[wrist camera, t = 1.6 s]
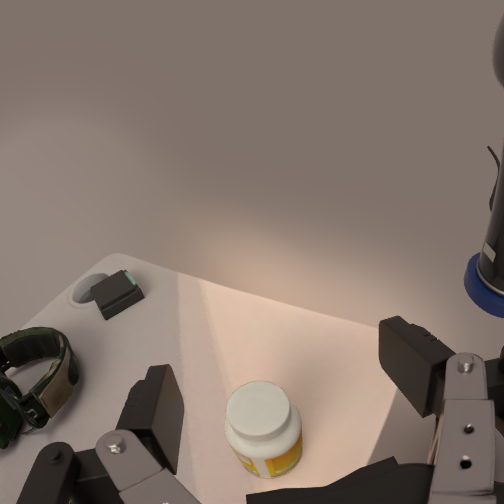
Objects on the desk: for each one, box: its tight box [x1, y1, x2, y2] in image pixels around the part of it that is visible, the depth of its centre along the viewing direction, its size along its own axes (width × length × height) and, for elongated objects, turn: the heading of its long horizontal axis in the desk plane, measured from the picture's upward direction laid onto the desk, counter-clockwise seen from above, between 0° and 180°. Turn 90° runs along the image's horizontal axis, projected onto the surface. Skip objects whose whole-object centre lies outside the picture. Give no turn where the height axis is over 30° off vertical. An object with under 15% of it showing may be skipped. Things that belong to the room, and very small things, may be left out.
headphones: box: [0, 327, 79, 449], centre depth 26 cm, size 13×13×20 cm
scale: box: [90, 270, 144, 320], centre depth 43 cm, size 7×7×2 cm
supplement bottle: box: [224, 381, 302, 478], centre depth 21 cm, size 5×5×10 cm
